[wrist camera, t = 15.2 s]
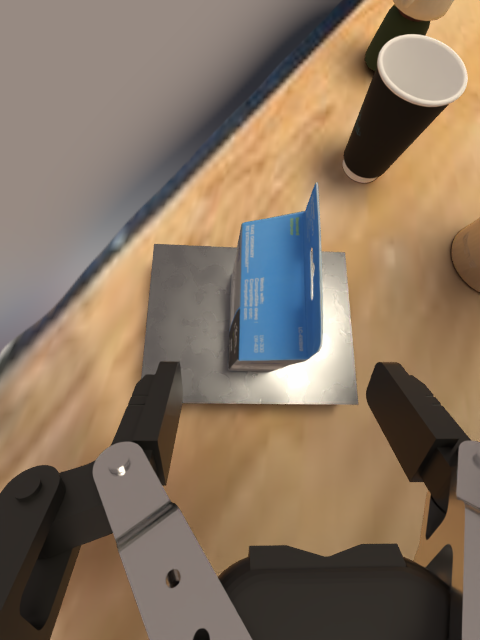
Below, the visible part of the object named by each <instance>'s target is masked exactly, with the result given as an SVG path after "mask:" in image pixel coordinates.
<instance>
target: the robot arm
mask: <svg viewBox="0 0 480 640" xmlns="http://www.w3.org/2000/svg"><path fill="white" fill-rule="evenodd" d="M451 252H452V260H453V263H454V266H455V268H456V270H457V272H458V274H459V275H460V276H461V278H462V279H463V280H464V281H465V282H466V283H467V284H468V285H469V286H470V287H472V288H473V289H475V290H476V291H478V292H480V218H479V219H477V220H476V221H474V222H473V223H471V224H470V225H468V226H467V227H465V228H464V229H462V230H461V231H460V232H459V233H458V234H457V235H456V236H455V238H454V241H453V243H452V249H451ZM366 398H367V402H368V405H369V407H370V409H371V411H372V412H373V414H374V416H375V418H376V420H377V422H378V424H379V425H380V427H381V429H382V431H383V433H384V435H385V437H386V438H387V440H388V442H389V444H390V446H391V448H392V450H393V451H394V453H395V455H396V457H397V459H398V461H399V463H400V464H401V466H402V468H403V470H404V472H405V474H406V476H407V477H408V479H409V481H410V482H424V483H425V485H426V487H427V488H428V490H429V491H428V492H427V495H426V500H425V508H424V515H423V522H422V529H421V536H420V542H419V547H418V550H417V552H416V555H415V557H414V560H413V561H412V560H409V559H407V558H405V557H403V556H402V554H401V552H400V549H399V547H398V545H397V544H361V545H358V546H355V547H353V548H350V549H347V550H345V551H342V552H340V553H337V554H334V555H332V556H328V557H324V556H320V555H317V554H314V553H310V552H307V551H303V550H300V549H297V548H293V547H290V546H287V545H279V546H249V554H248V557H247V558H245V559H242V560H240V561H238V562H236V563H234V564H232V565H231V566H230V567H228V568H227V569H226V570H224V571H223V572H222V573H221V574H220V575H219V576H218V577H217V575H216V573H215V572H214V570H213V568H212V566H211V565H210V563H209V561H208V559H207V557H206V556H205V554H204V552H203V550H202V548H201V547H200V545H199V543H198V541H197V539H196V538H195V536H194V534H193V532H192V531H191V529H190V527H189V525H188V523H187V522H186V520H185V518H184V516H183V514H182V513H181V511H180V509H179V508H178V506H177V505H176V504H175V503H172V502H171V501H170V499H169V497H168V496H167V494H166V492H165V490H164V488H163V486H162V485H166V483H167V478H168V473H169V468H170V463H171V458H172V453H173V448H174V443H175V438H176V433H177V428H178V423H179V418H180V413H181V407H182V401H183V387H182V377H181V367H180V362H178V361H161V362H160V363H159V365H158V368H157V371H156V374H146V375H145V376H144V377H143V378H142V379H141V380H140V381H139V382H138V383H137V384H136V386H135V389H134V391H133V394H132V397H131V399H130V401H129V403H128V406H127V408H126V411H125V413H124V416H123V418H122V420H121V423H120V425H119V428H118V430H117V433H116V435H115V437H114V440H113V442H112V444H111V446H110V447H108V448H107V449H106V450H104V451H103V452H102V453H101V454H100V455H99V457H98V458H97V459H96V460H95V461H93V462H91V463H89V464H87V465H84V466H81V467H78V468H75V469H71V470H68V471H65V472H61V473H58V471H57V470H56V469H55V468H54V467H52V466H48V465H41V466H36V467H33V468H30V469H28V470H26V471H24V472H22V473H20V474H19V475H17V476H16V477H15V478H13V479H12V480H11V481H10V482H9V483H8V484H7V485H6V486H5V488H4V489H3V490H2V492H1V493H0V640H50V637H51V634H52V631H53V628H54V625H55V622H56V619H57V616H58V613H59V610H60V607H61V604H62V601H63V598H64V595H65V592H66V589H67V586H68V583H69V580H70V577H71V574H72V571H73V568H74V565H75V562H76V559H77V556H78V553H79V550H80V547H81V545H83V544H85V543H88V542H91V541H93V540H96V539H98V538H101V537H104V536H106V535H109V534H112V533H113V534H114V537H115V540H116V543H117V548H118V551H119V554H120V557H121V560H122V563H123V566H124V569H125V571H126V574H127V577H128V580H129V583H130V586H131V589H132V591H133V594H134V597H135V600H136V603H137V606H138V608H139V611H140V614H141V617H142V620H143V623H144V626H145V628H146V631H147V634H148V637H149V640H480V442H477V441H471V440H470V439H469V437H468V436H467V435H466V434H465V433H464V431H463V430H462V429H461V428H460V426H459V425H458V424H457V423H456V422H455V420H454V419H453V418H452V417H451V416H450V414H449V413H448V412H447V411H446V410H445V408H444V407H443V406H441V403H440V402H439V401H438V400H437V399H436V397H433V394H432V393H431V391H430V390H429V389H428V388H427V387H426V385H425V384H423V383H422V382H421V381H419V380H418V379H417V378H415V377H414V376H412V375H409V374H408V373H407V372H406V371H405V369H404V368H403V367H402V365H401V364H399V363H397V362H379V363H377V364H376V365H375V368H374V370H373V373H372V376H371V379H370V382H369V385H368V387H367V391H366Z"/></svg>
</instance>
